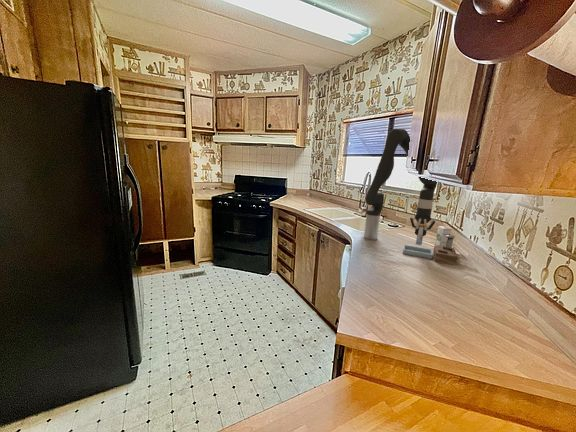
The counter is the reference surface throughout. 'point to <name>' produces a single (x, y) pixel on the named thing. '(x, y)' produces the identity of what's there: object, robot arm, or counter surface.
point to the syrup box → (442, 235)
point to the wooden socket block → (444, 255)
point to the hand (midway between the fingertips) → (420, 235)
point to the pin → (449, 242)
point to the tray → (417, 251)
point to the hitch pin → (420, 234)
